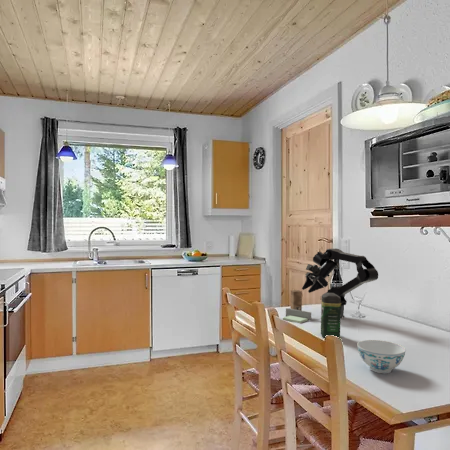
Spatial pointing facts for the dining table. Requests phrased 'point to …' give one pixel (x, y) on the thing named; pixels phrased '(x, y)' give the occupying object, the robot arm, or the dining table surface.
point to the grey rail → (298, 313)
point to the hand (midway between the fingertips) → (305, 290)
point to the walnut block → (296, 299)
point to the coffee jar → (330, 314)
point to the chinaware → (381, 354)
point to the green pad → (295, 319)
